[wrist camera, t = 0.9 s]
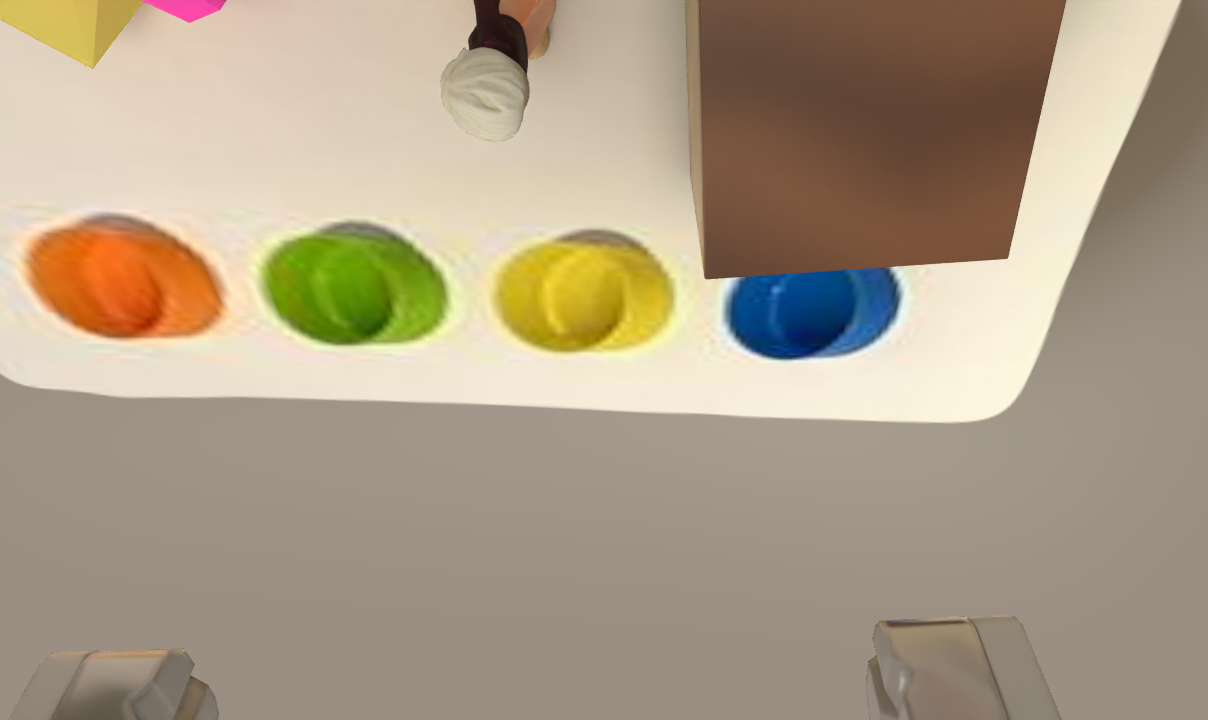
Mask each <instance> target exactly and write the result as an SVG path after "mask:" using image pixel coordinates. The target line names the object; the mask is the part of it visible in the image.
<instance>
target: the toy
mask: <svg viewBox="0 0 1208 720" xmlns="http://www.w3.org/2000/svg"><path fill="white" fill-rule="evenodd" d="M143 2H145V3H147V4H150V5H152V6H154V7H156V8H158V9H161V10H163V11H165V12H167V13H169V14H172V15H174V16H176V17H178V18H180V19H183V20H185V21H187V22H189V23H190V22H193V21H195V20H197V19H200V18H202V17H204V16H207V15H209V14H211V13H214V12H216V11H218V10H220V9H221V7H222V6H223V5H224V3H225V2H226V0H0V20H1V21H3V22H5V23H7V24H9V25H11V26H13V27H15V28H16V29H18V30H20V31H22V32H24V33H26V34H28V35H30V36H32V37H33V38H35V39H37V40H39V41H41V42H43V43H45V44H47V45H49V46H50V47H52V48H54V49H56V50H58V51H60V52H62V53H64V54H65V55H67V56H69V57H71V58H73V59H75V60H77V61H79V62H81V63H82V64H84V65H86V66H88V67H90V68H92V69H93V68H94V67H95V65H96V64H97V63H98V61H99V60H100V59H101V57H102V56H103V55H104V53H105V52H106V51H107V49H108V48H109V47H110V45H111V44H112V43H113V41H114V40H115V39H116V37H117V36H118V35H119V33H120V32H121V31H122V29H123V28H124V27H125V25H126V24H127V23H128V21H129V20H130V19H131V17H132V16H133V15H134V13H135V12H136V11H137V9H138V8H139V7H140V5H141V4H142V3H143Z"/></svg>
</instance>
